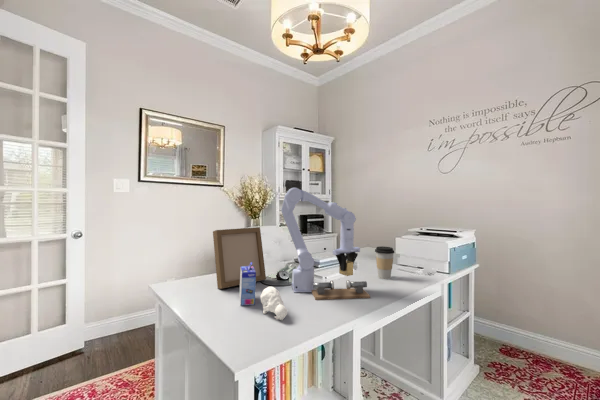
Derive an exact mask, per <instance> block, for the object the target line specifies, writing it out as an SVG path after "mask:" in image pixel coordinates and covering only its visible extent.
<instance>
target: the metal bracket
mask: <svg viewBox="0 0 600 400" xmlns="http://www.w3.org/2000/svg"><path fill="white" fill-rule="evenodd" d="M293 269H297V266H296V265H294V266H293V267H292V266H289V264H286V265H284V267H282V268H280V269H279V270H278V271H276V273H275V274H273V273H271V274H269V276H268V277H271V278H270V279H272V278H276V275H277V273H278V272H279V271H283V270H284V271H288V272H289V273H290V274H289V275H290V276H289V282H291V283H290V284H292V271H293ZM268 277H267V278H268Z"/></svg>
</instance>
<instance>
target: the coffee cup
mask: <svg viewBox="0 0 600 400" xmlns="http://www.w3.org/2000/svg"><path fill="white" fill-rule="evenodd" d="M374 252H375V254H376V256H375V258H376V268H377V269H376V270H377V277H378V278H379V279H380V280H381V279H382V280H390V279H391V276H392V269H393V263H394V254H395V250H394V248H393V247H391V246H384V245H383V246H377V247H376V248H375V249H374Z"/></svg>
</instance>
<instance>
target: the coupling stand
mask: <svg viewBox="0 0 600 400" xmlns="http://www.w3.org/2000/svg"><path fill="white" fill-rule="evenodd" d="M367 287H368V283H367V281H366V280H365V281H350V280H348V279H347V280H345V288H335V282H334V280H330V281H328V282H325V281H324V282H314V283H313V289H316V290H311V291H312V292H311V294H312V296H313V298H314V300H316V301H320V300H322V301H325V300H344V299H345V300H348V299H349V300H352V299H370V298H371V295H370V294H369V293H368V292H367V291H366V290H365V289H364V288H367Z"/></svg>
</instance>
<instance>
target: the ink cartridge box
mask: <svg viewBox="0 0 600 400" xmlns="http://www.w3.org/2000/svg"><path fill="white" fill-rule="evenodd" d="M250 265H251V266H250ZM256 283H257V281H256V271H255V269H254V266H252V262H251V263H250V264H249V266H243V267H241V271H240V285H239V296H238V297H239V303H240V306H244V307H245V306H255V305H256Z"/></svg>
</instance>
